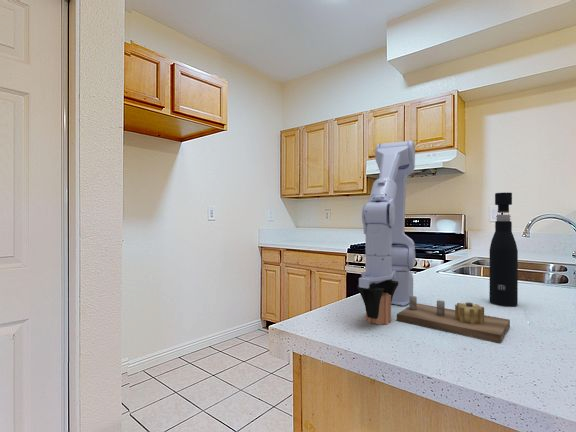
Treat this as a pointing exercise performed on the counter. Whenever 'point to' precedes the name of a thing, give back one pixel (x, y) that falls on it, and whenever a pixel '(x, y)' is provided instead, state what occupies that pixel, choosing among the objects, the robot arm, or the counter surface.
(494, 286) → the black bottle
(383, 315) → the gear
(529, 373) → the counter surface
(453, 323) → the gear board
